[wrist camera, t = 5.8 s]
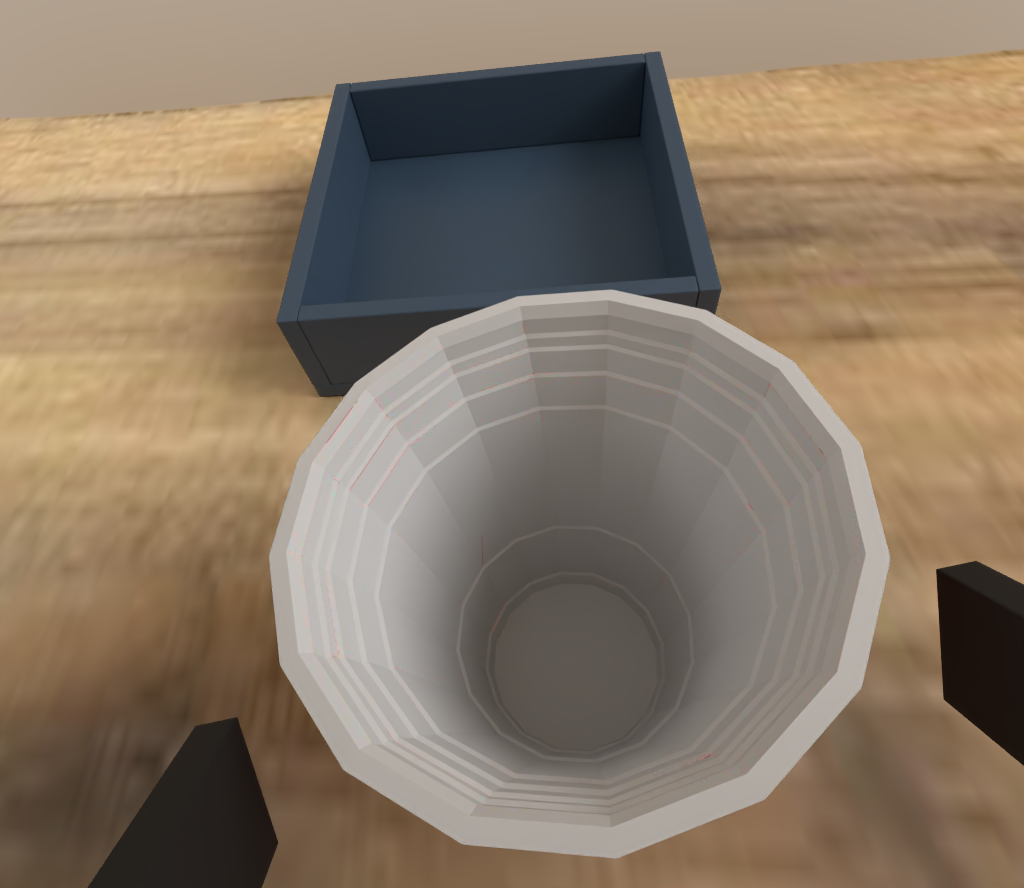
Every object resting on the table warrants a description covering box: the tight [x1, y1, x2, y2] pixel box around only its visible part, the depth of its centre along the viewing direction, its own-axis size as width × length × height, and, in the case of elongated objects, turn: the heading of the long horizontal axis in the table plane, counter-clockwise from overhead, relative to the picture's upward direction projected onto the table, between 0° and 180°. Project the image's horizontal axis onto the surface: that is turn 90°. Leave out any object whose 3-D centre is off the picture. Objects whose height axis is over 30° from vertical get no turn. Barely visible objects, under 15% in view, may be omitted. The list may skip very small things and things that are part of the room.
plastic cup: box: [269, 290, 891, 858], centre depth 16 cm, size 11×11×12 cm
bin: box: [277, 52, 721, 396], centre depth 30 cm, size 17×17×5 cm
